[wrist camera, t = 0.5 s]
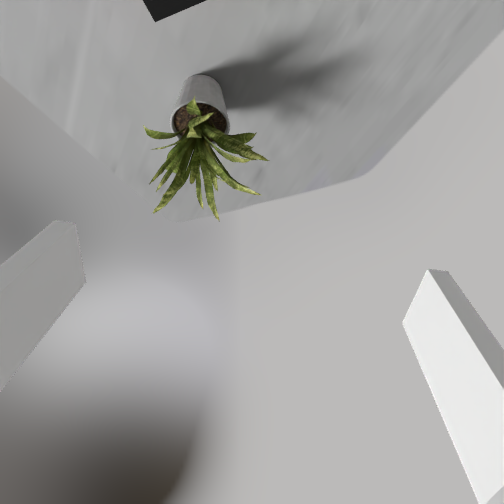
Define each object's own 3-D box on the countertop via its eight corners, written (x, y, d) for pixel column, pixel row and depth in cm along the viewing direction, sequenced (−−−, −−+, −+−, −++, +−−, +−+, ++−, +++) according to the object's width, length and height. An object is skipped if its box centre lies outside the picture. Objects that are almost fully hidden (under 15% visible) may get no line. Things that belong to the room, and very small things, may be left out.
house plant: (211, 158, 54) (208, 248, 46) (125, 108, 46) (103, 207, 38) (276, 95, 45) (286, 194, 37) (184, 21, 37) (172, 126, 29)
